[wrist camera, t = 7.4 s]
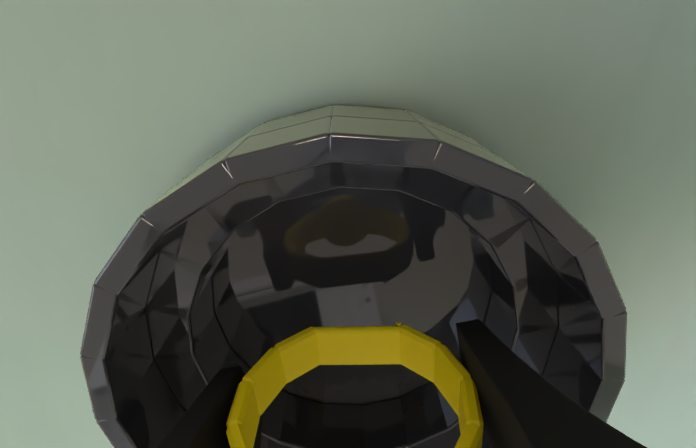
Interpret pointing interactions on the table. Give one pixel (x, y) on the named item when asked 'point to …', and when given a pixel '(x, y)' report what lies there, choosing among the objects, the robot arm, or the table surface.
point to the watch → (354, 350)
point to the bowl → (346, 281)
